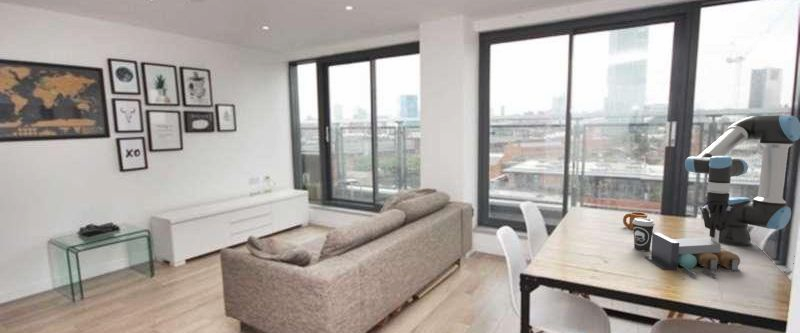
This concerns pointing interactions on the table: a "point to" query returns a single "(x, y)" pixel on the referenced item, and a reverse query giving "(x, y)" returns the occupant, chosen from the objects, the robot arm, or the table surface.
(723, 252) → the roller
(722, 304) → the table surface
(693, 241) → the slab
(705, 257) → the roller
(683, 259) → the roller
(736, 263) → the roller bed
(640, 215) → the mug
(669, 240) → the block
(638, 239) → the coffee cup
